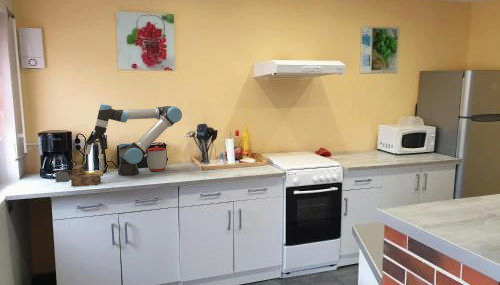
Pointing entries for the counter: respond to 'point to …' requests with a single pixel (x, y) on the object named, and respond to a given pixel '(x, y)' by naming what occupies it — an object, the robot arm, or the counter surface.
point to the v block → (63, 176)
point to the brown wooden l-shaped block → (83, 177)
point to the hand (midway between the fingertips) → (93, 156)
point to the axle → (92, 172)
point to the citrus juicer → (156, 158)
